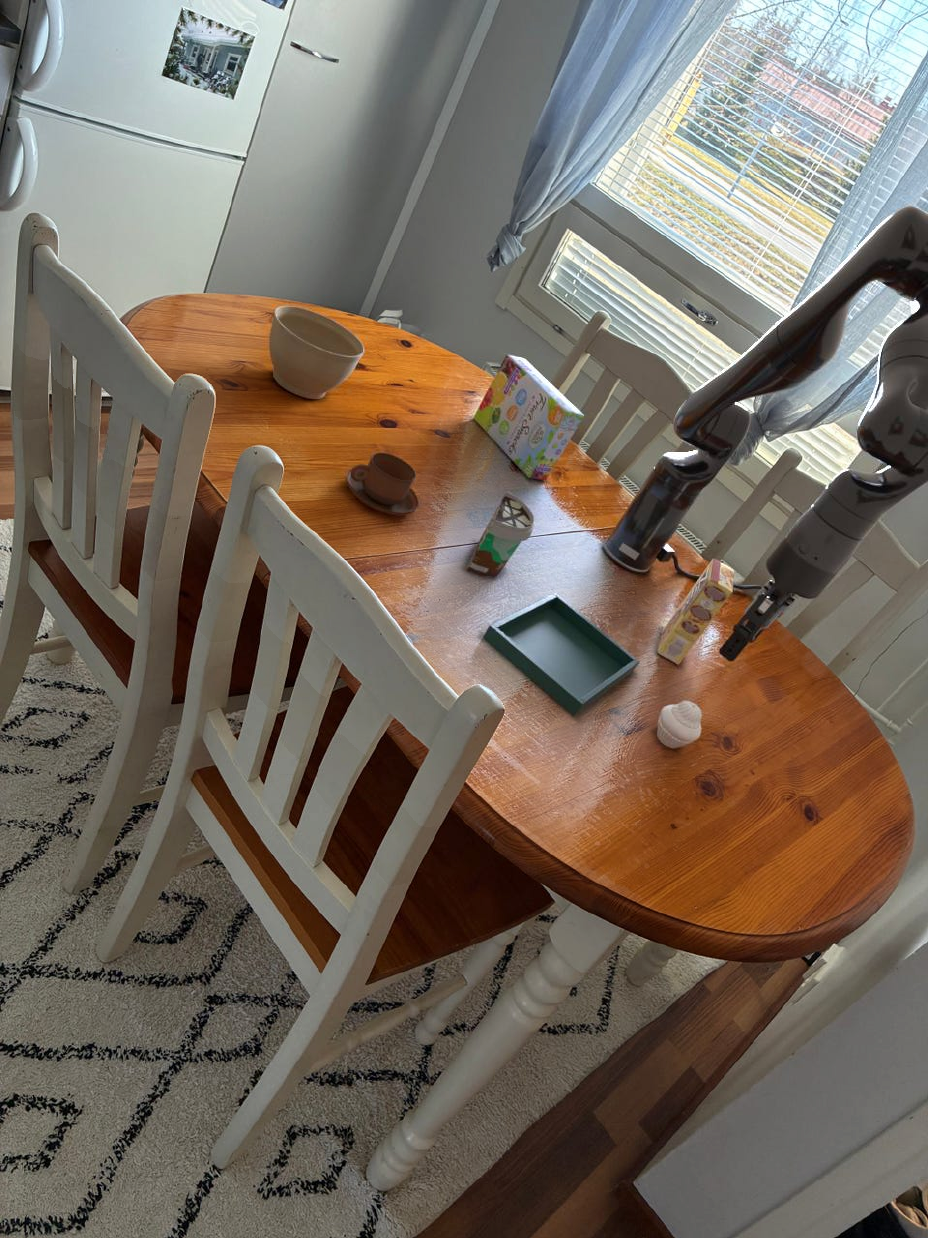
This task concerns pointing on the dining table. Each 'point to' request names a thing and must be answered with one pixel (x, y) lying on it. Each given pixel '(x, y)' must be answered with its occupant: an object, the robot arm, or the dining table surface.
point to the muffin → (679, 724)
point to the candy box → (696, 611)
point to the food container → (502, 536)
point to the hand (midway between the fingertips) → (735, 647)
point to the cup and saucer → (384, 484)
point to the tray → (561, 652)
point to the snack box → (527, 417)
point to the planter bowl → (311, 351)
